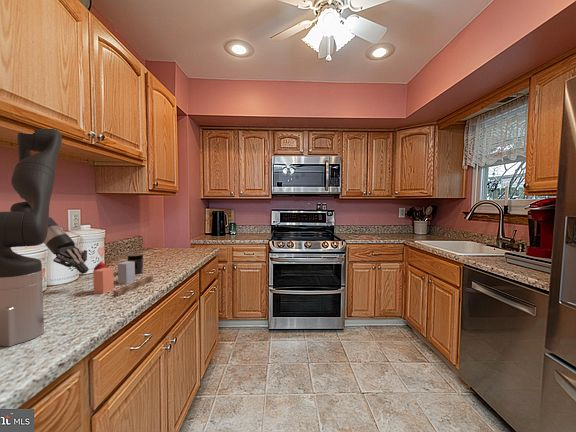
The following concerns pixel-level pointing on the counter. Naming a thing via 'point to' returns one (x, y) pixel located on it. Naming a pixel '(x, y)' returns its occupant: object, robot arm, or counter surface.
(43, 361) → the counter surface
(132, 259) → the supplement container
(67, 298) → the counter surface
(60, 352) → the counter surface
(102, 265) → the onion
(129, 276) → the grey rectangular block
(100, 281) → the orange rectangular block
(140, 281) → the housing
